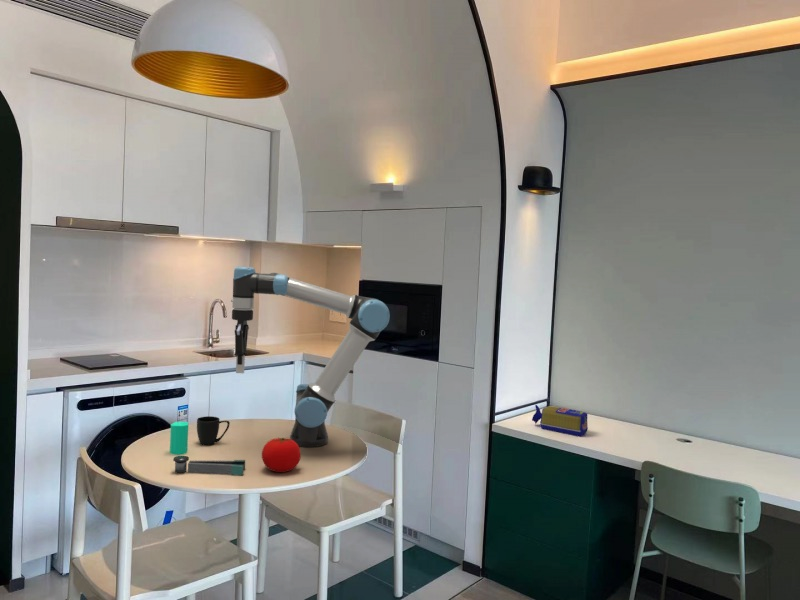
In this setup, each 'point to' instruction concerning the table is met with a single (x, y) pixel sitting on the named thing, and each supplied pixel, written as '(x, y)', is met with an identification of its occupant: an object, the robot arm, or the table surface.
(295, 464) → the tomato
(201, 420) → the mug
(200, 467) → the tongs fixed
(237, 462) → the bar
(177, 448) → the candle
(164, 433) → the table surface
